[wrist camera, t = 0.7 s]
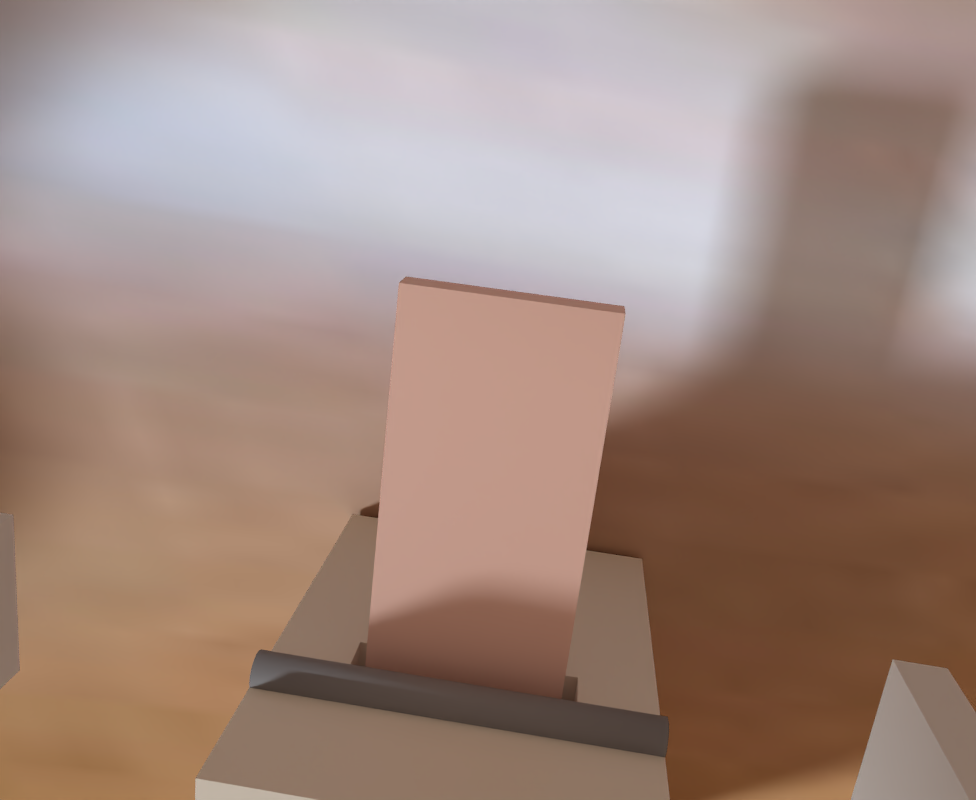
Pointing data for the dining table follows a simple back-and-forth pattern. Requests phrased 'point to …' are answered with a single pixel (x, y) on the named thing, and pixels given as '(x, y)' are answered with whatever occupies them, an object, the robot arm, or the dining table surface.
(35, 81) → the dining table surface
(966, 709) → the robot arm
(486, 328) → the ticket strip
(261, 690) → the block
